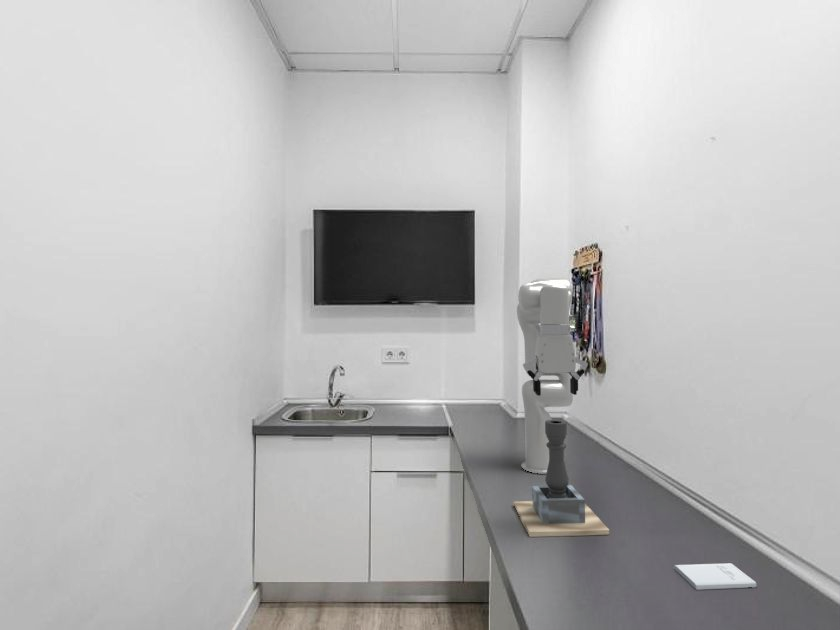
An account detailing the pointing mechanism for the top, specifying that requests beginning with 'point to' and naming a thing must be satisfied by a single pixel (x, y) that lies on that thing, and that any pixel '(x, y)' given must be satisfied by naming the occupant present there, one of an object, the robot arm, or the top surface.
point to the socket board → (558, 515)
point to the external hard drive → (714, 576)
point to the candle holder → (556, 458)
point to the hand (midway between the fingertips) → (555, 394)
